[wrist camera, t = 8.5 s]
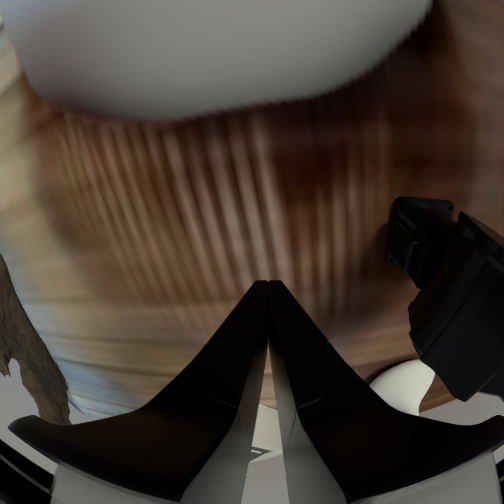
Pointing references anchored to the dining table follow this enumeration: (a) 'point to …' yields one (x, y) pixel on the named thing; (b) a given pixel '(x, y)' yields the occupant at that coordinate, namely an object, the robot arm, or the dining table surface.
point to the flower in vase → (404, 385)
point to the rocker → (256, 453)
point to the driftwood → (30, 356)
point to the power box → (267, 433)
